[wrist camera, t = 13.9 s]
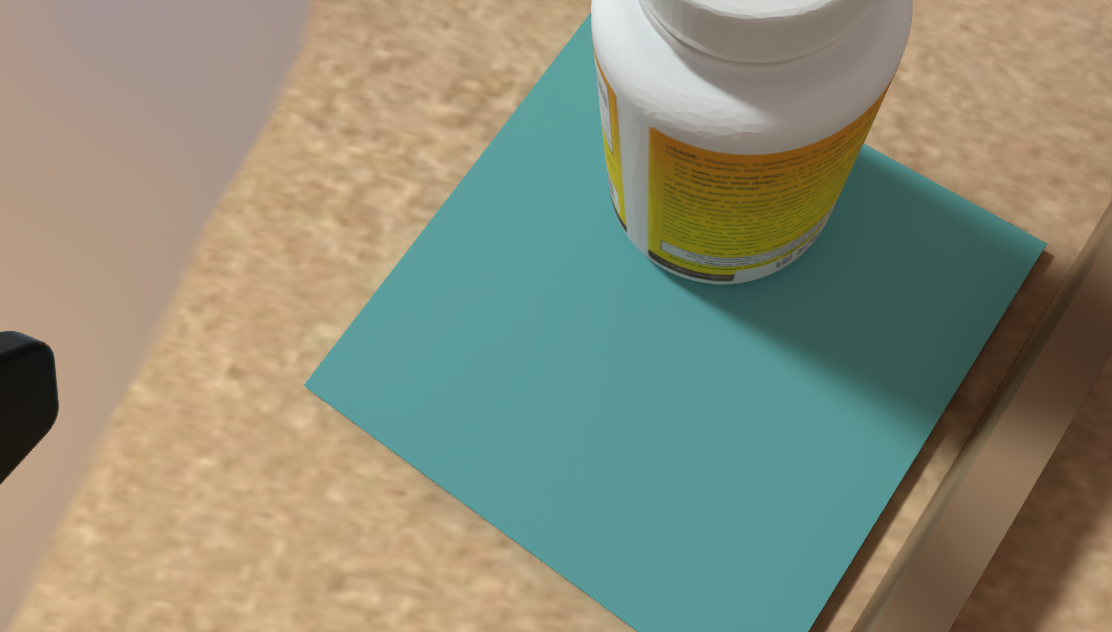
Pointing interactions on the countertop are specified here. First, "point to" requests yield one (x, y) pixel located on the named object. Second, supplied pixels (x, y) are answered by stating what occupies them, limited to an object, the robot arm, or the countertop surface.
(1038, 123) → the countertop surface
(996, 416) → the walnut lane
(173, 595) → the countertop surface
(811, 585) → the teal mat
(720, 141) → the supplement bottle
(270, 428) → the countertop surface
